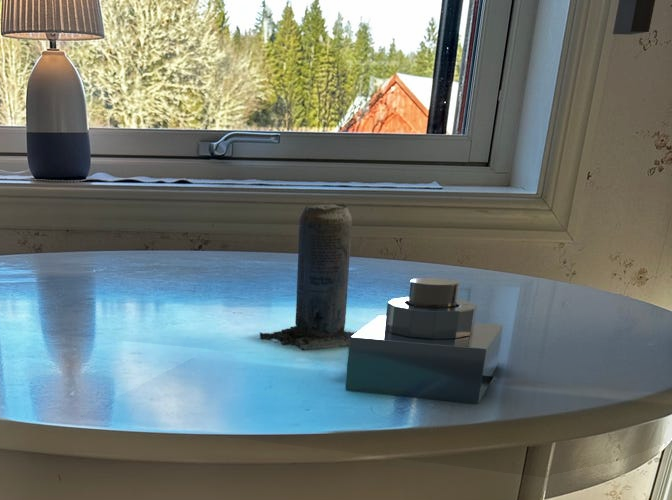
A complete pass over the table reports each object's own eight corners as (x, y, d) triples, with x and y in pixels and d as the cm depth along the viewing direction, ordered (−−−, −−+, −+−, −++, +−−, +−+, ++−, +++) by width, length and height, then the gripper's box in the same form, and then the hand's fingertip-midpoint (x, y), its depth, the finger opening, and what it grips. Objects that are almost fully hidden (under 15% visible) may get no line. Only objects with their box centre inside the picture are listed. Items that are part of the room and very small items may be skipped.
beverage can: (311, 362, 82) (321, 209, 76) (254, 346, 87) (260, 202, 81) (386, 350, 86) (401, 204, 80) (327, 336, 92) (337, 198, 86)
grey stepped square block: (495, 375, 78) (507, 298, 75) (477, 404, 70) (490, 319, 67) (374, 363, 81) (381, 289, 78) (344, 390, 73) (351, 309, 70)
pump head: (458, 307, 74) (462, 279, 73) (451, 315, 71) (455, 286, 70) (412, 304, 75) (415, 276, 74) (403, 311, 72) (406, 282, 71)
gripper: (765, -358, 67) (680, 38, 78) (591, -371, 66) (530, 35, 77) (842, -409, 61) (737, 30, 72) (651, -425, 59) (574, 27, 70)
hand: (630, 32), depth 74 cm, fingers closed
